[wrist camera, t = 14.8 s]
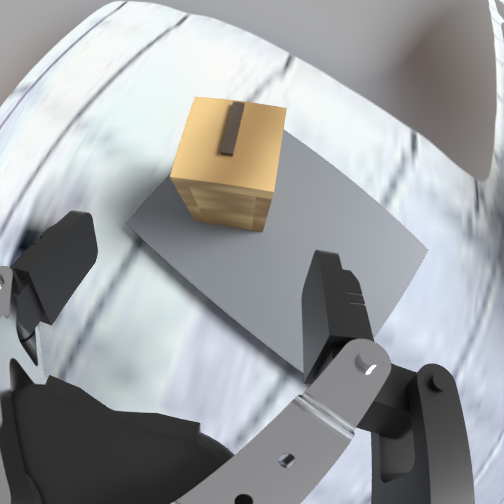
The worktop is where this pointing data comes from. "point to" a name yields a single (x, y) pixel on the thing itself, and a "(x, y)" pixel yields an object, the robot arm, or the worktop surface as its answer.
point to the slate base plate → (286, 248)
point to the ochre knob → (229, 161)
